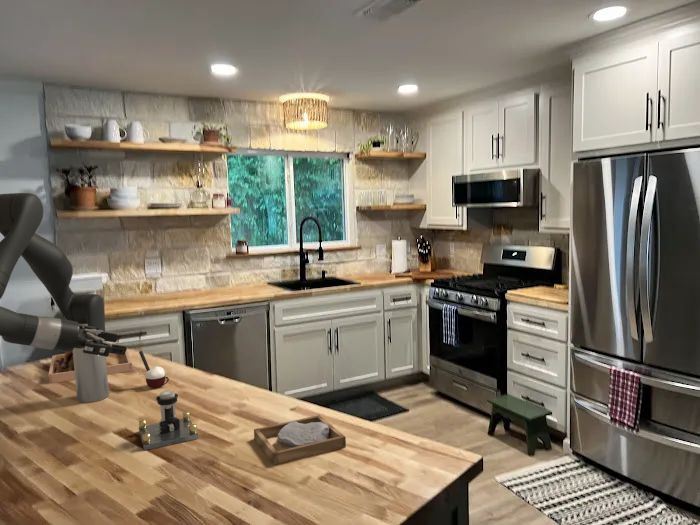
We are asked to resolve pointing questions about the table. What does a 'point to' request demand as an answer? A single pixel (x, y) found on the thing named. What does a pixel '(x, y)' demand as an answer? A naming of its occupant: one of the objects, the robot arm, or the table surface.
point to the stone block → (302, 433)
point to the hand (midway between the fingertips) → (121, 344)
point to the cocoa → (154, 374)
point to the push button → (167, 412)
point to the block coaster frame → (300, 451)
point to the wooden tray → (71, 374)
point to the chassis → (167, 433)
